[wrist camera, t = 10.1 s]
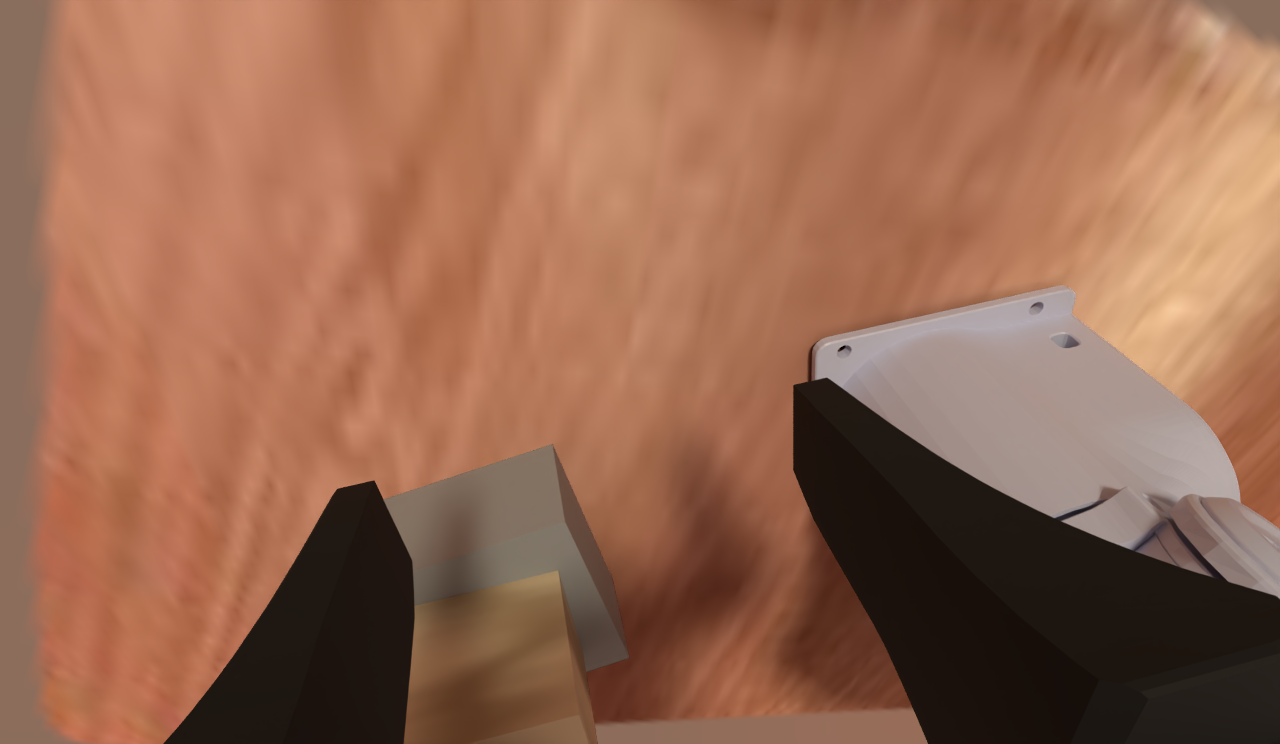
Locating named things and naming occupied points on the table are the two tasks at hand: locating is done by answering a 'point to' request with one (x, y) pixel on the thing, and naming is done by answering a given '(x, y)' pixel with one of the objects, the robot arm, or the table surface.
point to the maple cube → (499, 669)
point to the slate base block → (512, 542)
